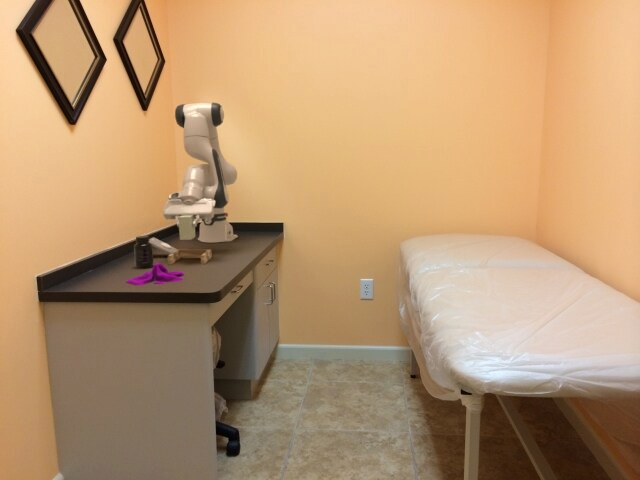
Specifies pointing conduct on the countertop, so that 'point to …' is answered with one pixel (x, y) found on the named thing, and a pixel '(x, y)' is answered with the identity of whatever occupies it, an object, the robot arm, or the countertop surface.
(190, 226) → the pale olive cuboid
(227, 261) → the countertop surface
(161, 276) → the cloth
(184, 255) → the wooden frame
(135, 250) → the supplement bottle
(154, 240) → the light switch
